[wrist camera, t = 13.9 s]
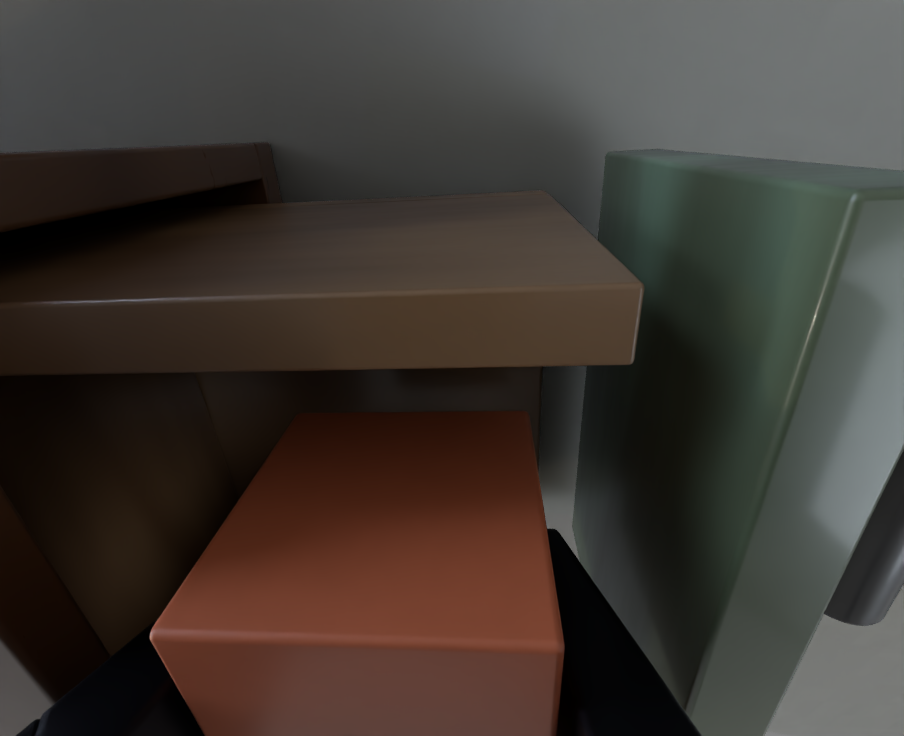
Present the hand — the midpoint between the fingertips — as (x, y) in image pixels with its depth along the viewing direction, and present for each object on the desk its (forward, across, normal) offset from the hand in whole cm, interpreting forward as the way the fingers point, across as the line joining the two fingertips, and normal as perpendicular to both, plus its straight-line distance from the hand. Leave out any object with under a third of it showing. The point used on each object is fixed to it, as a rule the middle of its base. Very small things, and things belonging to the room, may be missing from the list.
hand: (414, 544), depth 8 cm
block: (+1, 0, 0) cm, 1 cm away
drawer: (+6, -1, 0) cm, 6 cm away
